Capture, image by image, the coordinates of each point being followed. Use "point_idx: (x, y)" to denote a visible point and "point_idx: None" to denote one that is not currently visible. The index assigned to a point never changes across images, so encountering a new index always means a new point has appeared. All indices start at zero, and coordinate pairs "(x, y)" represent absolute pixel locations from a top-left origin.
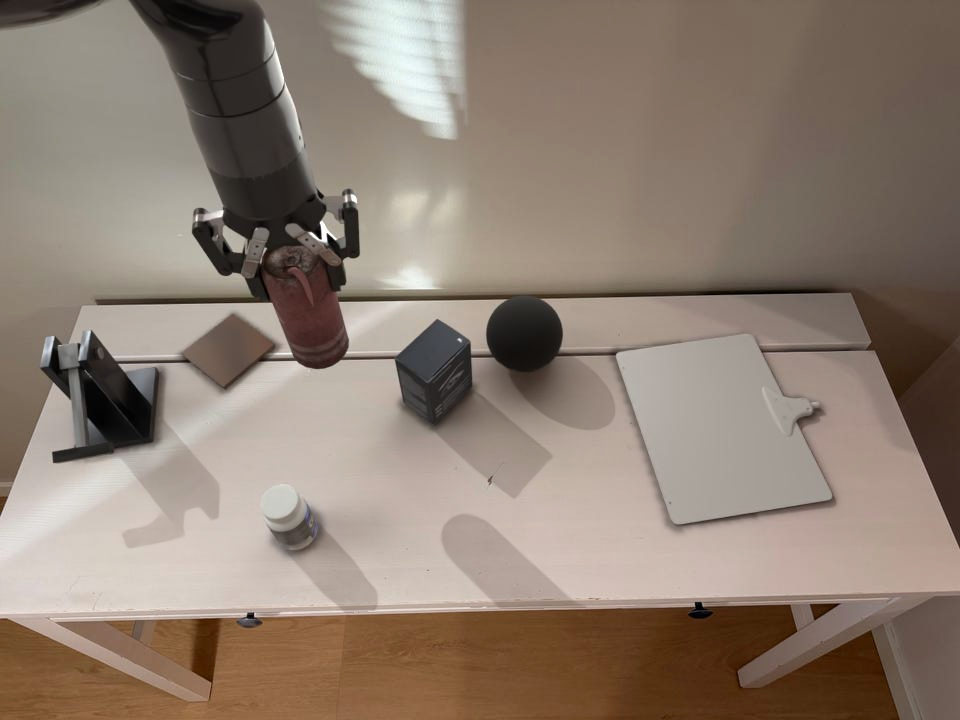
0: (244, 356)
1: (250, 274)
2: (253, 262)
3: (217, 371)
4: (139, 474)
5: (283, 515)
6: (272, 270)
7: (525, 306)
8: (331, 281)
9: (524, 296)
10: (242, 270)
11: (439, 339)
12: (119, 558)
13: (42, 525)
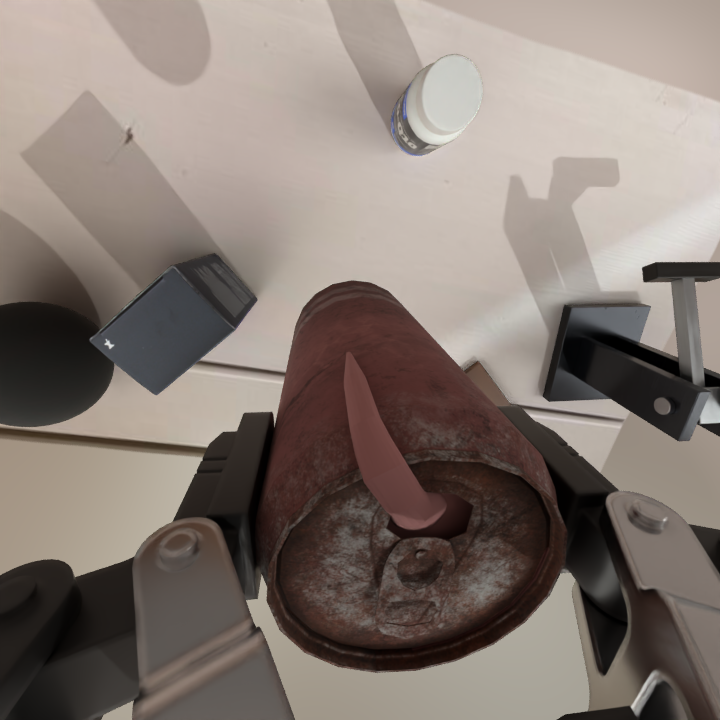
0: None
1: (639, 510)
2: (668, 590)
3: (483, 385)
4: (586, 263)
5: (449, 58)
6: (517, 520)
7: None
8: (260, 445)
9: (3, 422)
10: (689, 537)
11: (148, 351)
12: (628, 146)
13: (694, 218)
